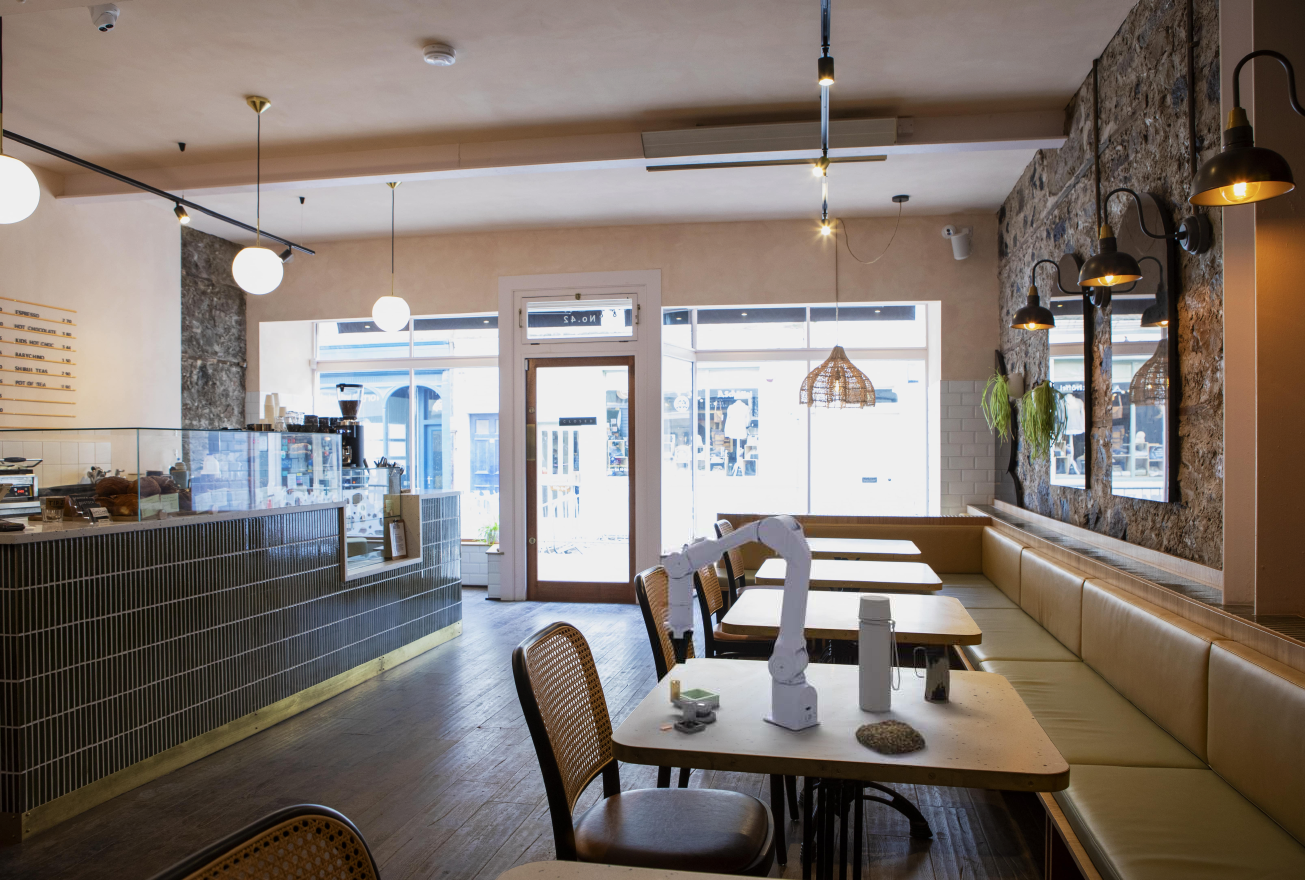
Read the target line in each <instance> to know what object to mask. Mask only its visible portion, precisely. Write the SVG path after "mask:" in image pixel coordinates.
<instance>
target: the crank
mask: <svg viewBox="0 0 1305 880" xmlns="http://www.w3.org/2000/svg"><path fill="white" fill-rule="evenodd" d="M669 683H670V685H669V687H670V689H669V690H670V691H669V696H670V697H669V698H670V699H669V700H670V703H671V704H673V705H675V704H678V705H682V706H683V702H684V701H695V702H696V716H708V715H710V714H711V711H712V708H711V702H709V701H704V700H692V699H688V698H684V697H680V692H681V680H677V679H673V680H670V682H669Z"/></svg>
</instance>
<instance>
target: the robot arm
mask: <svg viewBox="0 0 1305 880" xmlns="http://www.w3.org/2000/svg"><path fill="white" fill-rule="evenodd" d="M749 542H755V543H760V542H762V543H763V545H766V546H767V547H769V548H770V549H772V550H774V551H775V552H777V553H778V554H779V556H780V557H781V558H782V559H783V560H784V561H785V562H786V565H785V566H786V567H785V576H784V577H785V578H784V586H783V596H782V605H781V612H780V614H781V615H780V622H779V624H780V625H779V632H778V636H777V639H776V641H775V643H774V646H773V647H774V648H773V653H772V654H771V656H770V657H769V659H768V663H767V669H768V671H769V672H768V673H769V674H770V675H771V714H770V715H766V716H763V717H762V719H763V720H764V721H766V722H770V723H772V724H775V725H779V726H780V727H781V726H782V727H784V728H787V729H789V730H793V731H798V730H802V729H806V728H809V727H811V726H812V727H813V726H815V725H819V724H820V723H821V721H820V720H818V692H817V689H816V688H815V687H814V686H813V685H811V684H809V683H808V681H807V679H806V677H807V676H806V674H805V672H804V671H805V670H806V669H807V667H808V666H809V662H810V658H809V654H808V652H807V639H805V636H804V635H805V634H804V633H805V623H806V614H807V606H808V597H809V587H810V579H811V578H810V577H811V571H812V570H811V569H812V562H813V561H812V559H813V555H812V551H811V548H810V546H809V544H808V542H807V539H806V537H805V534H804V528H803V525H802V524H801V523H799V521H798V520H797V519H795V517H794V516H792V515H789V514H779V515H777V516H769V517H767V518H764V519H761V520H755V521H753V522H749V523H747V524H745V525H743V526H741V527H740V528H737V529H735V530H734V531H731V532H729V533H727V534H726V535H723V536H721V537H720V538H718V539H717V538H715V537H712V536H708V537H707V536H703V537H699V538H698V542H696V543H693V544H692V545H690V546H688V545H684V546H683V547H681V549H682V550H680V551H673V552H671V553H670V554H669V555H667V556H666V557H665V560H664V563H663V566H664V570H665V572H666V574H667V575H668V594H667V595H668V600H667V601H668V602H667V603H668V621H664V622H663V625H662V626H663V627H667V628H668V629H670V631H668V632H667V633H668V634H667V636H668V639H669V641H670V642H671V643H670V644H671V645H672V650H673V655H674V660H675V664H676V665H686V662H687V659H688V652H689V647H690V646H689V645H690V643H691V640H692V638H693V635H694V634H695V633H694V632H695V630H694V629H693V628H694V627H695V622H694V574H695V573H696V572H697V571H699V570H702V569H703V568H706V567H708V566H710V565H713V564H715V563H717V562H719V561H721V559H722V557H723V555H724V553H725V552H727V551H729V550H732V549H734V548H737V547H739V546H741V545H744V544H747V543H749ZM691 629H693V630H691Z"/></svg>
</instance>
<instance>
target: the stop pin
mask: <svg viewBox="0 0 1305 880" xmlns="http://www.w3.org/2000/svg"><path fill="white" fill-rule="evenodd" d="M682 721H683V726H685V727H688V728H690V727H694V726H696V702H695V701H684V702H683V707H682Z"/></svg>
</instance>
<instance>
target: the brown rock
mask: <svg viewBox="0 0 1305 880" xmlns="http://www.w3.org/2000/svg"><path fill="white" fill-rule="evenodd" d="M855 737H856V739H857V740H858V742H860V743H861V744H863V745H864V746H866V747H868V748H870V749H872V750H874V751H876V752H878V753H880V754H884V755H901V754H903V755H904V754H910V753H914V752H915V751H920V750H923V749H924V748H925V745H926V739H924V737H923V735H921V733H920V732H919V731H918V730H916V729H915V728H914V727H912V726H911V725H909V724H908V723H906V722H905V721H903V722H902V721H898V720H897V719H895V718H894V719H887V720H884V721H880V722H873V723H868V724H862V725H861V726H859V728H858V729H857V730H856V731H855Z"/></svg>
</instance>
